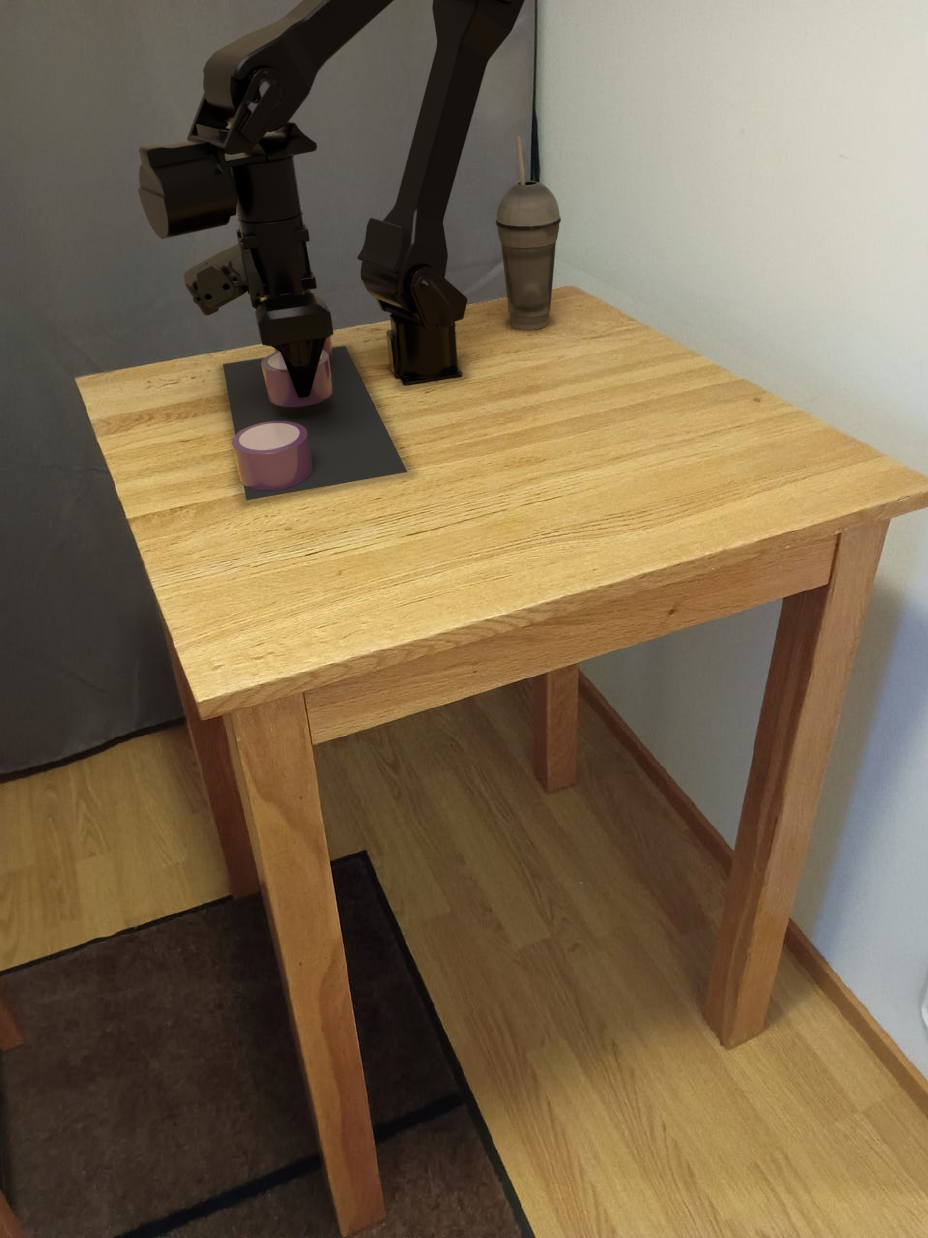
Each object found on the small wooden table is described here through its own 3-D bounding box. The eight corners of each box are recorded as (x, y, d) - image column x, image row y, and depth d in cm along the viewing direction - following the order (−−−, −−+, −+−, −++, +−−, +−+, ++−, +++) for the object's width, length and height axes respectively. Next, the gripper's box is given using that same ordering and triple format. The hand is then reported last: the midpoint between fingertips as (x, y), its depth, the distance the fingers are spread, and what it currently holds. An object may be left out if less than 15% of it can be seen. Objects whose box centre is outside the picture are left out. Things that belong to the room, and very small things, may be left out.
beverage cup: (538, 338, 106) (536, 144, 94) (486, 327, 110) (479, 140, 98) (572, 319, 110) (574, 132, 98) (521, 309, 114) (518, 128, 102)
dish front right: (308, 451, 85) (302, 415, 83) (318, 483, 80) (311, 445, 78) (237, 463, 84) (228, 426, 82) (242, 496, 79) (234, 458, 77)
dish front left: (328, 376, 94) (323, 342, 92) (338, 400, 89) (333, 365, 87) (264, 386, 93) (257, 352, 91) (271, 411, 88) (264, 375, 86)
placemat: (345, 347, 107) (345, 345, 107) (407, 474, 81) (407, 471, 81) (223, 366, 104) (222, 363, 104) (246, 503, 78) (246, 499, 78)
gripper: (175, 203, 87) (211, 362, 97) (180, 253, 73) (222, 436, 82) (292, 189, 89) (317, 347, 99) (320, 235, 75) (346, 415, 84)
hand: (299, 383), depth 91 cm, fingers closed on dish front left, 6 cm apart
